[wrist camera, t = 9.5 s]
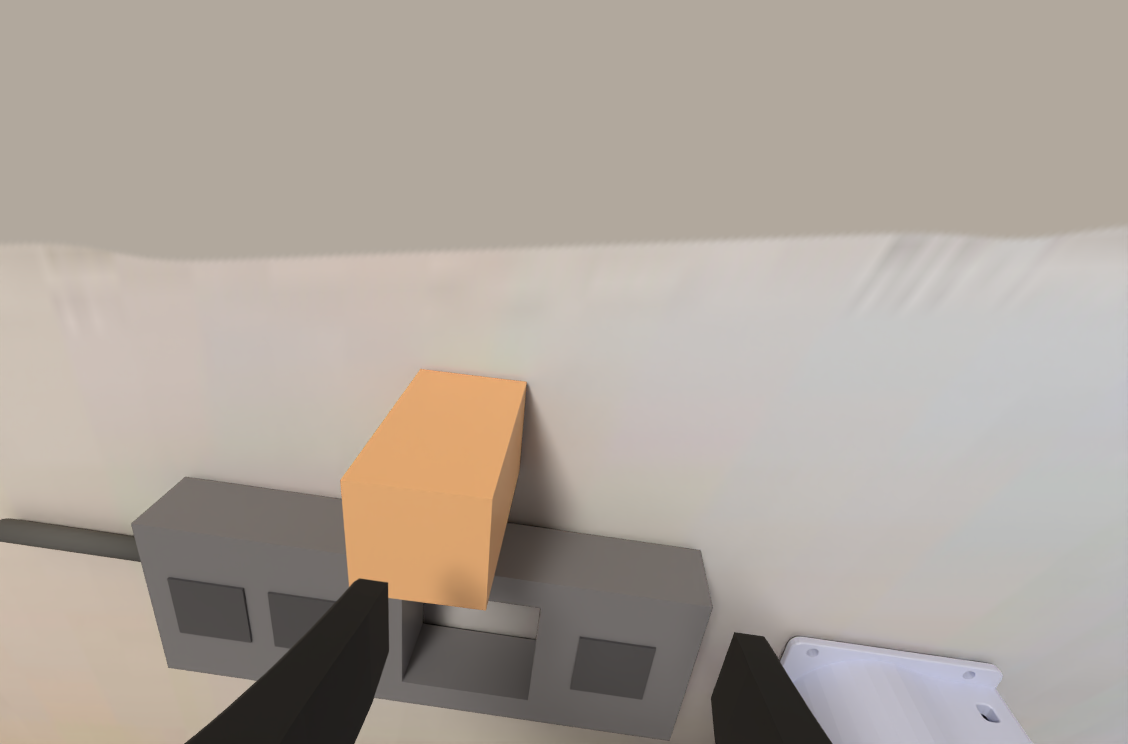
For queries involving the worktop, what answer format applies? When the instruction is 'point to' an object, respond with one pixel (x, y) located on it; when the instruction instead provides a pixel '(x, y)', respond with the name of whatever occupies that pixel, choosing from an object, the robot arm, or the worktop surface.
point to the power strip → (416, 607)
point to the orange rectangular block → (436, 489)
